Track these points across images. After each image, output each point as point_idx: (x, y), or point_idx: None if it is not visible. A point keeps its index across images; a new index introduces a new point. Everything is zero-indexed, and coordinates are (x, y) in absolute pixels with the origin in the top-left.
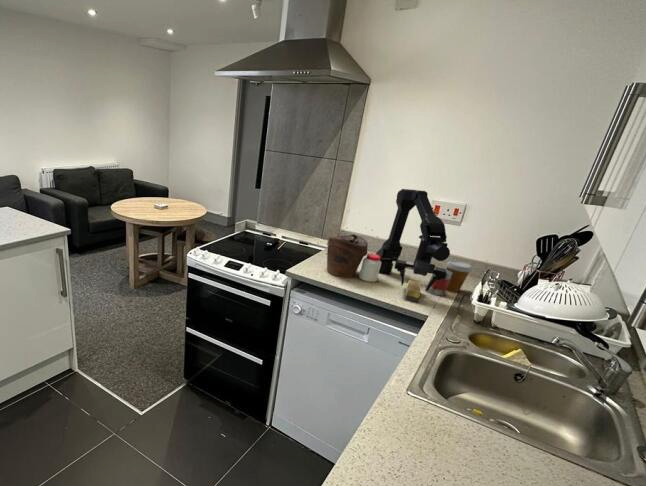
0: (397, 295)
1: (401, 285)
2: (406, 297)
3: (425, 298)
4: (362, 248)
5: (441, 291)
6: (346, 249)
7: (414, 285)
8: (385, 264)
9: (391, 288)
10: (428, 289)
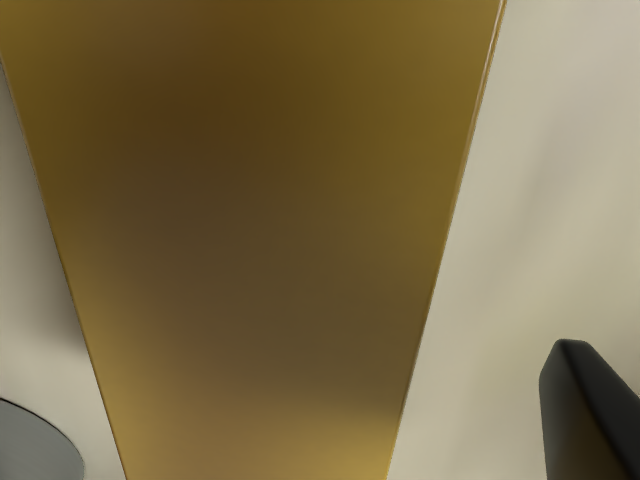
0: (627, 34)
1: (585, 342)
2: None
3: (27, 195)
4: None
5: None
6: None
7: (249, 406)
8: None
9: (634, 341)
10: (67, 473)
